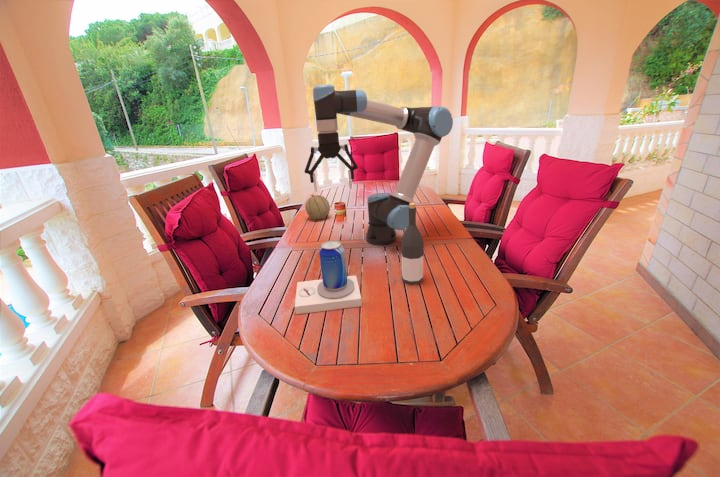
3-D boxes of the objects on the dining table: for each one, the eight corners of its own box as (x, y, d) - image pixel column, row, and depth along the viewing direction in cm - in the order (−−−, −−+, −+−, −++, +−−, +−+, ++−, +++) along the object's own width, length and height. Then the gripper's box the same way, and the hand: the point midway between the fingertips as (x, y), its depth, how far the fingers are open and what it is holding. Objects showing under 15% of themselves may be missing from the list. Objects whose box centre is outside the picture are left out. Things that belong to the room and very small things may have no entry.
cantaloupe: (329, 222, 187) (327, 197, 181) (305, 223, 187) (301, 198, 181) (332, 214, 200) (329, 191, 195) (309, 215, 201) (306, 192, 195)
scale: (356, 282, 121) (355, 272, 119) (361, 306, 106) (361, 295, 104) (298, 289, 119) (296, 279, 117) (295, 314, 104) (293, 303, 102)
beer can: (351, 281, 113) (347, 240, 107) (342, 293, 106) (337, 250, 100) (329, 278, 116) (324, 238, 110) (319, 290, 109) (314, 248, 102)
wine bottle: (409, 287, 115) (409, 208, 103) (397, 278, 121) (395, 203, 110) (427, 281, 118) (429, 204, 106) (414, 272, 125) (414, 198, 113)
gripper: (360, 128, 120) (363, 184, 128) (293, 133, 117) (301, 189, 126) (362, 130, 113) (366, 188, 121) (292, 135, 110) (300, 194, 119)
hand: (333, 189), depth 123 cm, fingers open, 13 cm apart
